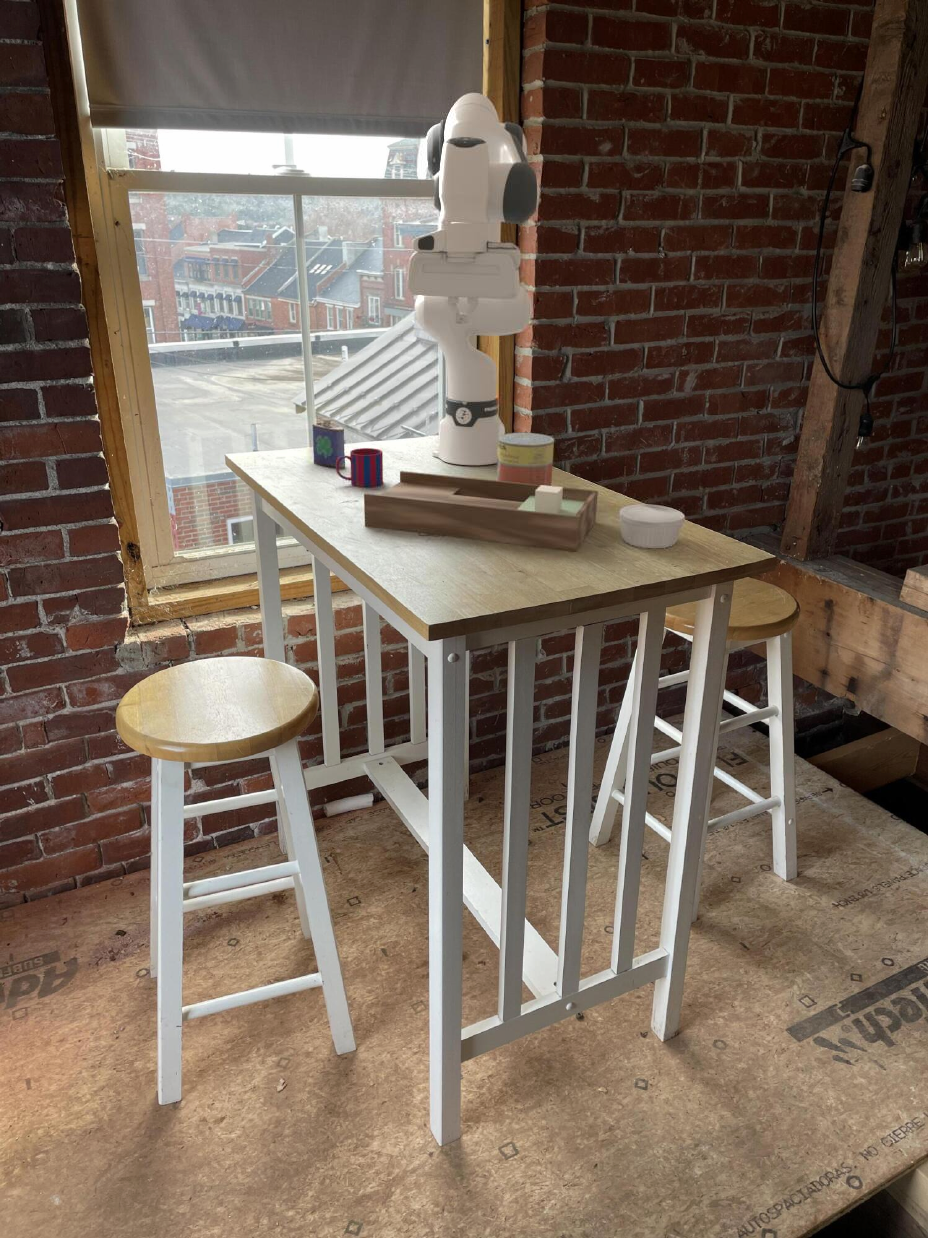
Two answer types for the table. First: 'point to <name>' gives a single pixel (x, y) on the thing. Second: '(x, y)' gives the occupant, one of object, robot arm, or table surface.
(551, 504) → the block
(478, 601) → the table surface
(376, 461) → the mug
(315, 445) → the flask
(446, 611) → the table surface
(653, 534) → the ramekin
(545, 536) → the box
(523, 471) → the canned food
